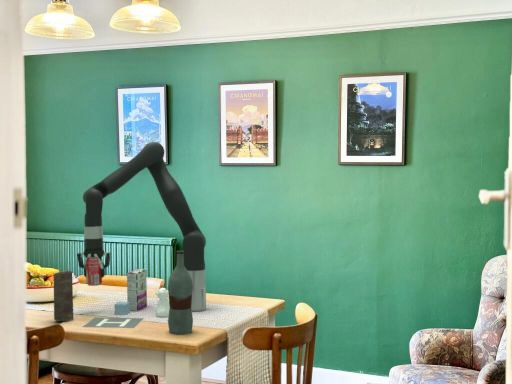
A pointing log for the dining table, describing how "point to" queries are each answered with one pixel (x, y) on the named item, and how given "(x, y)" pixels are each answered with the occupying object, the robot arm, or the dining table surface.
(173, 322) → the bottle
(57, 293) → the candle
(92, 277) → the soda can
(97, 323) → the letter board
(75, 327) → the dining table surface
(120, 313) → the blue block
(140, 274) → the candy bar box
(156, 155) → the robot arm
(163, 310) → the seated beast figurine
